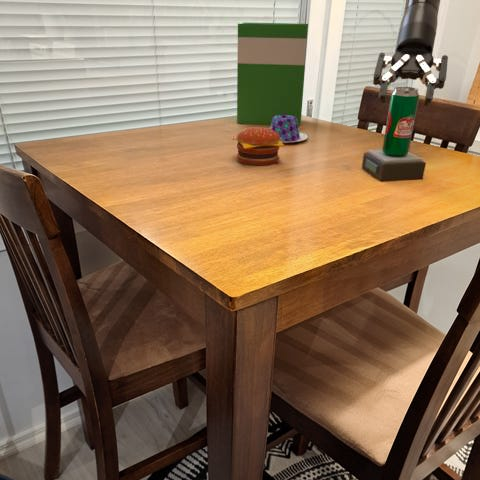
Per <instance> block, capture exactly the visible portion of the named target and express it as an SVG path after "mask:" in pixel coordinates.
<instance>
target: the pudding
mask: <svg viewBox="0 0 480 480" xmlns="http://www.w3.org/2000/svg"><path fill="white" fill-rule="evenodd" d="M299 127H300V126H298V121H297V118H296V117H294V116H289V115H278V116H274V118H273V120H272V124H271V125H270V128H269V129H271V130H273V131H275V132H276V133H278V134H279V135H280V138H281V139H280V141H281V142H282V143H283V144H292V143H297V142H302V141H305V140H307V139H308V138H309V136H308V135H307V134H306V133H303V132H300V128H299Z"/></svg>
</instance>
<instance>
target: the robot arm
mask: <svg viewBox="0 0 480 480" xmlns="http://www.w3.org/2000/svg"><path fill="white" fill-rule="evenodd" d="M440 4H441V0H405V5H404V11H403V15H402V18H401V21H400V25H399V29H398V35H397V39H396V45H395V51H394V54H393V55H392V56H389V55H388V56H387V55H386V53H385V52H380V53H379V55H378V57H377V61H376V65H375V69H374V72H373V80H372V84H373V85H374V86H379V87H380V88H379V93H378V100H379V101H381V103H382V104H385V103H386V98H387V94H388V88H389V86H390V85H391V84H392V83H395V82H396V81H397V80H398V79H399V78H400V79H401V80H407V79H409V80H415V81H416V80H417V79H418V80H420V82H421V83H422V85H424V86H425V87H426V91H425V97H424V103H423V106H424V107H428V105H429V104H431V103H432V102H433V98H434V93H435V90H436V89H439V90H442V89H443V88H444V87H445V83H446V80H447V71H448V61H449V56H448V55H446V54H444V55H442V56H441V58H434V56H433V54H434V53H433V52H434V46H435V41H436V36H437V29H438V22H439V21H438V17H439V11H440ZM388 65H390V68H389V70H388V71H387V72H386V73H385V74H383V75H382V73H383V70H384V69H386V68H387V67H388ZM433 66H434V67H435V70H436V71H437V72H438V77H437V78H436V77H435V76H434V74H433V72H432V69H431V68H432V67H433Z"/></svg>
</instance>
